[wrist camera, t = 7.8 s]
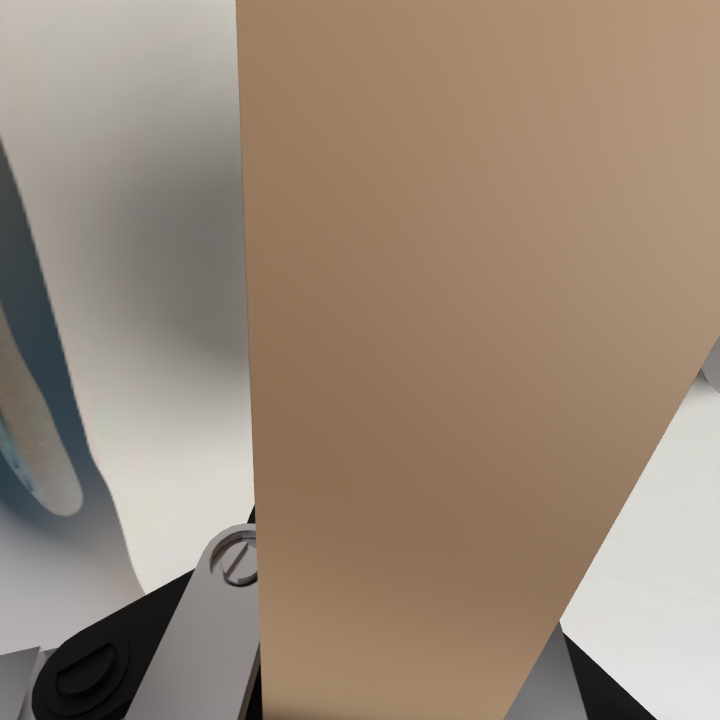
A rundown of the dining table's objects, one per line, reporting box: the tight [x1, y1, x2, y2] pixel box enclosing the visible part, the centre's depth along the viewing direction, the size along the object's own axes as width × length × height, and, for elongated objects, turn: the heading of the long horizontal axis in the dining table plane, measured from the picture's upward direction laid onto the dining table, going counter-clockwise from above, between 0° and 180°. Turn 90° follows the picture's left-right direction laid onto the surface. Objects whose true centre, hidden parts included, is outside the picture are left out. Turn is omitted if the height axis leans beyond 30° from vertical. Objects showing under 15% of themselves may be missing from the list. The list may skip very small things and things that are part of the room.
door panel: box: [236, 0, 720, 720], centre depth 10 cm, size 16×3×11 cm, turn 175°
